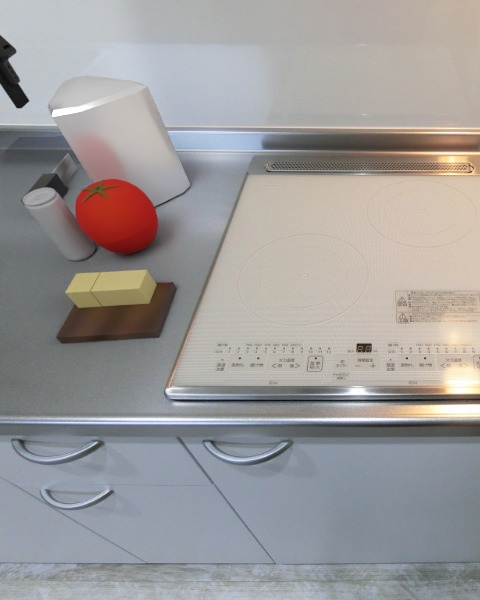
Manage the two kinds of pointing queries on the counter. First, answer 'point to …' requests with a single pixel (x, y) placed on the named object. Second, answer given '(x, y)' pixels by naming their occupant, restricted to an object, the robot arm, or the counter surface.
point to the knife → (57, 177)
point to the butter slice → (83, 290)
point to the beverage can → (59, 223)
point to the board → (119, 319)
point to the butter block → (124, 288)
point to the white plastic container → (119, 134)
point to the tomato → (117, 216)
